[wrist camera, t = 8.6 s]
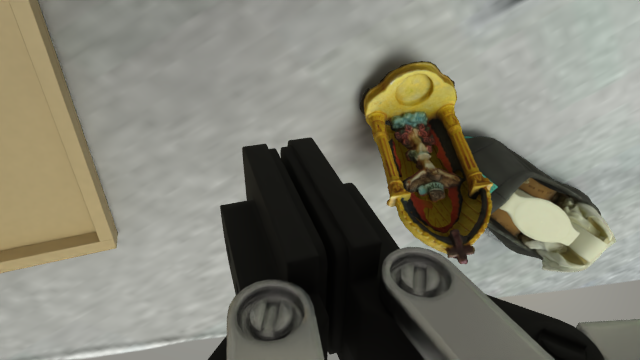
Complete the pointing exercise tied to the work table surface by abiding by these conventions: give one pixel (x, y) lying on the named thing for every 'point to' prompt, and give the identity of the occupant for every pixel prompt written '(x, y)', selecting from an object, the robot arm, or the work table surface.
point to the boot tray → (43, 153)
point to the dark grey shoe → (539, 211)
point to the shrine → (428, 159)
